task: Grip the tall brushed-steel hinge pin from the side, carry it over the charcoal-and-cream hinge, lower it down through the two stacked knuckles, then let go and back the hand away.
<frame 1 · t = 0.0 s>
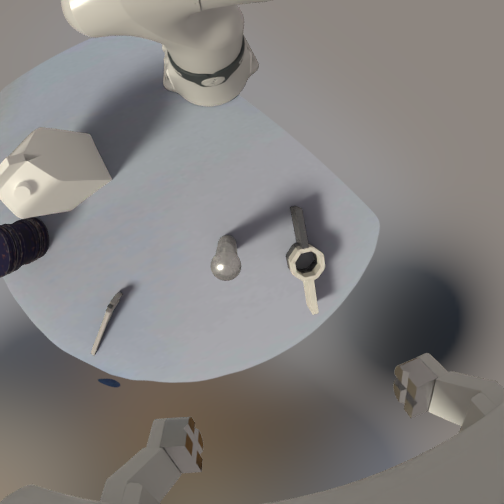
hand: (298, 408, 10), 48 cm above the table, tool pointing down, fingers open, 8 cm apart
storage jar: (34, 237, 54), on the table
hinge leaf b: (302, 257, 59), on the table
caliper: (106, 324, 60), on the table
milk: (79, 172, 51), on the table
hinge leaf a: (302, 257, 59), on the table
hinge pin: (227, 244, 57), on the table
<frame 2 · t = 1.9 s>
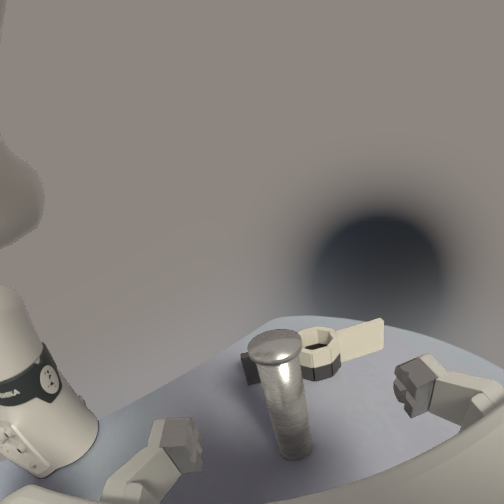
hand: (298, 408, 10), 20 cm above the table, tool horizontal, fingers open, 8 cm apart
hinge leaf b: (318, 366, 40), on the table
hinge leaf a: (318, 366, 40), on the table
hinge pin: (295, 448, 26), on the table
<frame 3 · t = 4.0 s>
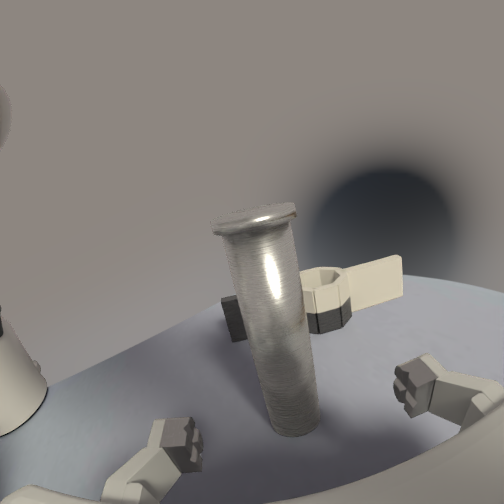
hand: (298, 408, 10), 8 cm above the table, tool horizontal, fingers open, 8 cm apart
hinge leaf b: (322, 317, 32), on the table
hinge leaf a: (322, 317, 32), on the table
hinge pin: (295, 418, 19), on the table
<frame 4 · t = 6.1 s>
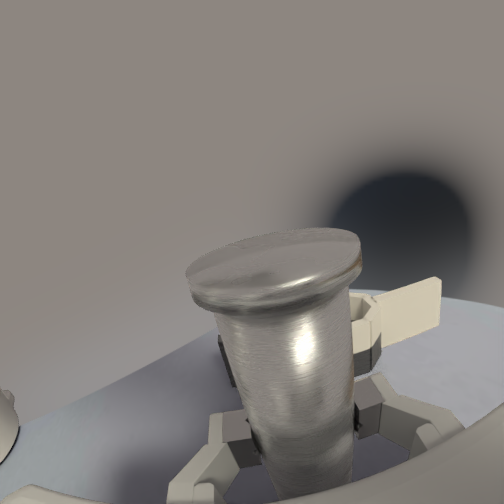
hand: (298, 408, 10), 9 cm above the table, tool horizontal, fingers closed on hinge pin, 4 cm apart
hinge leaf b: (344, 356, 25), on the table
hinge leaf a: (344, 356, 25), on the table
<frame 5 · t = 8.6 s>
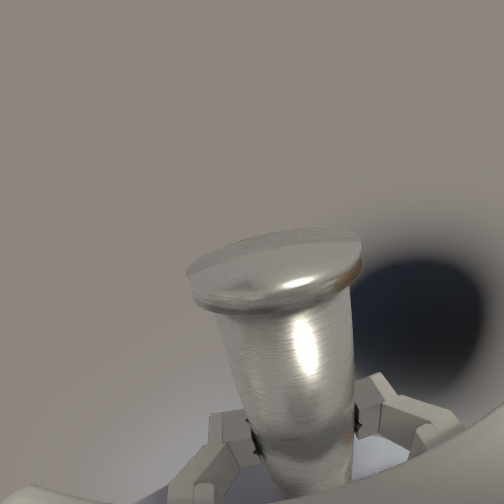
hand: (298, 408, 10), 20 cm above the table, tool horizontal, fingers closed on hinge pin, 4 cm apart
when the fingers open (10 cm above the table, at t = 11.3 s): hinge pin drops 1 cm, resting in hinge leaf a.
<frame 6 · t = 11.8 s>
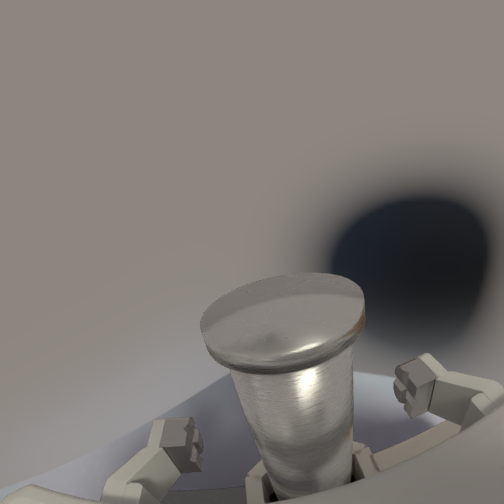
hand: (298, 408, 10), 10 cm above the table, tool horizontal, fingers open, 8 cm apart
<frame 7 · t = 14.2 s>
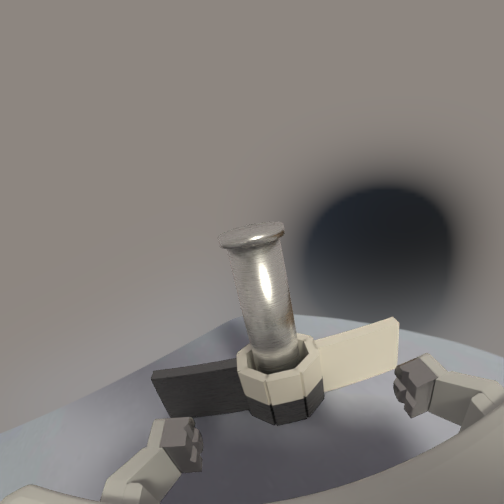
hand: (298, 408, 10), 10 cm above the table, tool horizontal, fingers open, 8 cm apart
hinge leaf b: (285, 397, 23), on the table
hinge leaf a: (285, 397, 23), on the table
hinge pin: (285, 397, 23), resting in hinge leaf a
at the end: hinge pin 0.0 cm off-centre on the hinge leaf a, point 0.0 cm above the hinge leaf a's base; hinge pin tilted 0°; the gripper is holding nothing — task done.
